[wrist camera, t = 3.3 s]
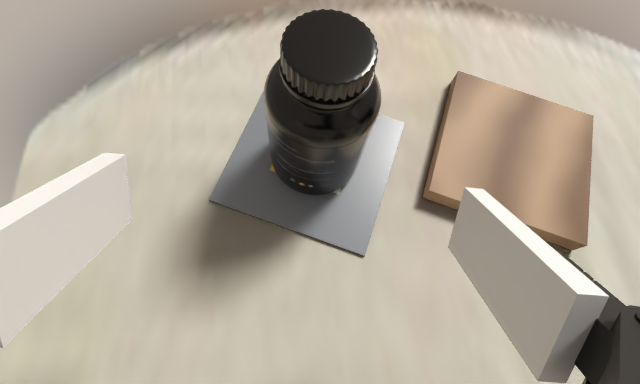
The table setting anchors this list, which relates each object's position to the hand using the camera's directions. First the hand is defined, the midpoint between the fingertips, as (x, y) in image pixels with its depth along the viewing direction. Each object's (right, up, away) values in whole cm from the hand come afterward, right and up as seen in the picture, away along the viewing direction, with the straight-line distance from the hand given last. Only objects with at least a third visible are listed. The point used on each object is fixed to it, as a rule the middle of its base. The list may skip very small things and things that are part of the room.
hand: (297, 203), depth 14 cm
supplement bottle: (0, +3, +14) cm, 15 cm away
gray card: (0, +3, +14) cm, 15 cm away
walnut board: (+16, +3, +16) cm, 23 cm away
